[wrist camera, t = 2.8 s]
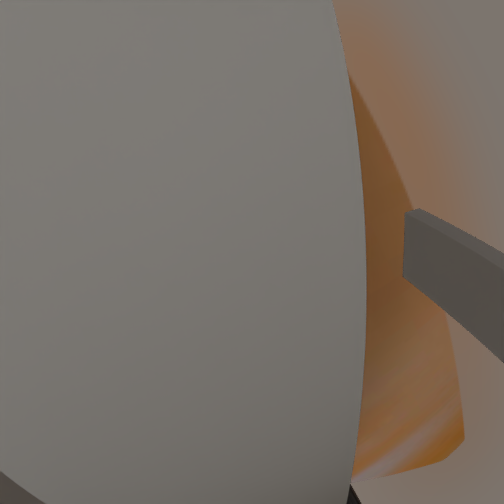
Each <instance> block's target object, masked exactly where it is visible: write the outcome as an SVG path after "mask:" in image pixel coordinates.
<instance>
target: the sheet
mask: <svg viewBox="0 0 504 504" xmlns="http://www.w3.org/2000/svg"><path fill="white" fill-rule="evenodd" d="M365 337H366V240H365V218H364V202H363V188H362V177H361V166H360V156H359V147H358V138H357V130H356V123H355V115H354V108H353V102H352V95H351V89H350V83H349V77H348V72H347V66H346V61H345V56H344V51H343V46H342V41H341V37H340V32H339V28H338V23H337V19H336V15H335V11H334V7H333V3H332V0H0V471H1V472H2V473H4V474H5V475H6V476H7V477H9V478H10V479H11V480H13V481H14V482H15V483H17V484H18V485H19V486H21V487H22V488H23V489H25V490H26V491H28V492H29V493H30V494H32V495H33V496H35V497H36V498H38V499H39V500H41V501H42V502H44V503H45V504H346V503H347V498H348V493H349V488H350V482H351V476H352V470H353V464H354V457H355V450H356V443H357V435H358V427H359V418H360V409H361V398H362V387H363V374H364V358H365Z"/></svg>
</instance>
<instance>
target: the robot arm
mask: <svg viewBox="0 0 504 504" xmlns="http://www.w3.org/2000/svg"><path fill="white" fill-rule="evenodd" d="M403 277H404V278H405V279H407V280H408V281H409V282H410V283H412V284H413V285H414V286H415V287H417V288H418V289H419V290H420V291H422V292H423V293H424V294H425V295H426V296H428V297H429V298H430V299H431V300H433V301H434V302H435V303H436V304H437V305H439V306H440V307H441V308H442V309H443V310H444V311H446V312H447V313H448V314H449V315H450V316H452V317H453V318H454V319H455V320H456V321H457V322H459V323H460V324H461V325H462V326H463V327H464V328H466V329H467V330H468V331H469V332H470V333H471V334H472V335H473V336H474V337H476V338H477V339H478V340H479V341H480V342H481V343H482V344H483V345H485V346H486V347H487V348H488V349H489V350H490V351H491V352H492V353H493V354H494V355H495V356H497V357H498V358H499V359H500V360H501V361H502V362H503V363H504V254H503V253H502V252H500V251H498V250H497V249H495V248H493V247H492V246H490V245H488V244H486V243H485V242H483V241H481V240H479V239H477V238H476V237H474V236H472V235H470V234H468V233H466V232H465V231H463V230H461V229H459V228H457V227H455V226H453V225H451V224H450V223H448V222H446V221H444V220H442V219H439V218H438V217H436V216H434V215H432V214H430V213H428V212H426V211H424V210H421V209H416V210H412V211H409V212H406V213H405V233H404V260H403ZM0 504H45V503H44V502H42V501H41V500H39V499H38V498H36V497H35V496H33V495H32V494H30V493H29V492H28V491H26V490H25V489H23V488H22V487H21V486H19V485H18V484H17V483H15V482H14V481H13V480H11V479H10V478H9V477H7V476H6V475H5V474H4V473H2V472H1V471H0ZM346 504H361V502H360V500H359V498H358V497H357V495H356V493H355V491H354V490H353V488H352V486H351V484H350V488H349V493H348V498H347V503H346Z"/></svg>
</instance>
